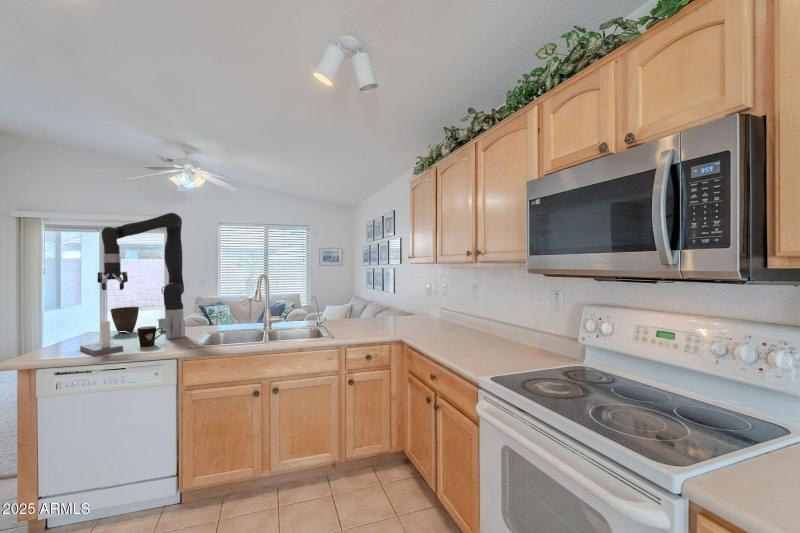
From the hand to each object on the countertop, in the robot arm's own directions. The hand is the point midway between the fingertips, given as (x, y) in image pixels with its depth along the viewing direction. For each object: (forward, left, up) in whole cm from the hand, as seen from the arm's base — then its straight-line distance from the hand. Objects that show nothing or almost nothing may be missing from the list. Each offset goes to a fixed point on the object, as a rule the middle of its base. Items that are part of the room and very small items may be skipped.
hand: (113, 289), depth 212 cm
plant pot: (+8, -29, -30) cm, 43 cm away
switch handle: (-9, +26, -27) cm, 39 cm away
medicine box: (-16, -29, -30) cm, 45 cm away
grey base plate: (-5, +22, -30) cm, 38 cm away
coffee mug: (-25, +15, -30) cm, 42 cm away
